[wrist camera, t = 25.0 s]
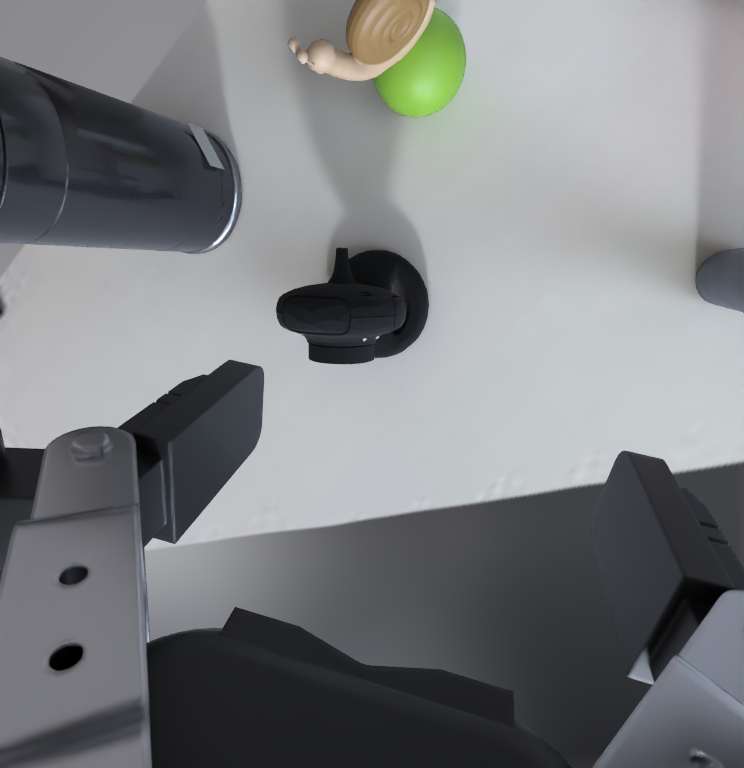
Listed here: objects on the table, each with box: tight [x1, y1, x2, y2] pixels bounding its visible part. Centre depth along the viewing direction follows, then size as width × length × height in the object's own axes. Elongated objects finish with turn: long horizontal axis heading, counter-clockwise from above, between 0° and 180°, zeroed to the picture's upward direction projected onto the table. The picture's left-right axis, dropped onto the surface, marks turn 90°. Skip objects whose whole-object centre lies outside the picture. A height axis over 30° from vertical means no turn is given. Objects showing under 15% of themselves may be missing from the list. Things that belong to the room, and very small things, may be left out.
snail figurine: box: [288, 0, 466, 117], centre depth 26 cm, size 5×6×12 cm
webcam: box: [276, 248, 429, 364], centre depth 31 cm, size 8×8×10 cm
